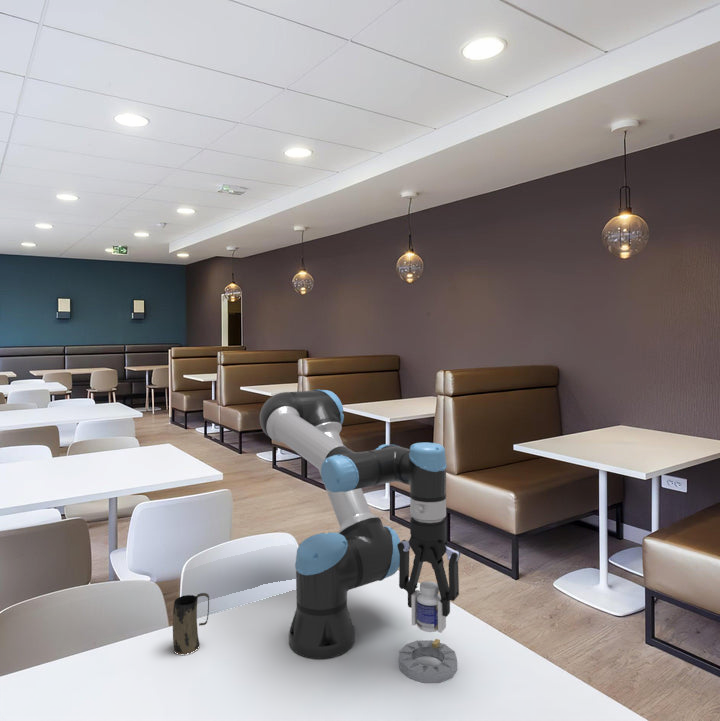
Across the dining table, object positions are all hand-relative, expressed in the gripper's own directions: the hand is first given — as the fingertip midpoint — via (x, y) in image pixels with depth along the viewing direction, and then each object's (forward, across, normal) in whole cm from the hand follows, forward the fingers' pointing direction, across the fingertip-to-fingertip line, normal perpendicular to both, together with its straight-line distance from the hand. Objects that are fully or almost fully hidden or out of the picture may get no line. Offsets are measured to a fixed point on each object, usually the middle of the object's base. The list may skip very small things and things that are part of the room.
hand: (428, 625), depth 116 cm
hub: (+9, 0, 0) cm, 9 cm away
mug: (+8, -49, -20) cm, 54 cm away
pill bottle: (0, 0, 0) cm, 1 cm away
